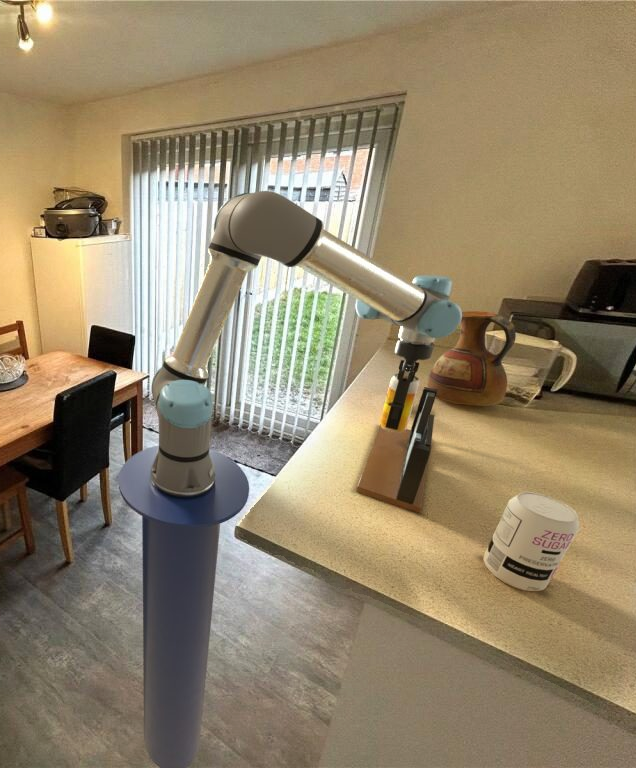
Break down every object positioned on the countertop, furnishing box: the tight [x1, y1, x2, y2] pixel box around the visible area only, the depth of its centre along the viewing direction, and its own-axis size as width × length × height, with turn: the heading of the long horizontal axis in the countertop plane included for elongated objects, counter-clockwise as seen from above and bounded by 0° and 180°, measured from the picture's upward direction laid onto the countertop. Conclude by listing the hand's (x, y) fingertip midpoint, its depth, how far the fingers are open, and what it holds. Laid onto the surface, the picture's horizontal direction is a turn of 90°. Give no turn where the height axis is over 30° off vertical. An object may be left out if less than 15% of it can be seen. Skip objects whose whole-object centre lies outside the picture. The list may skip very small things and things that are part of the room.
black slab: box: [402, 392, 435, 478], centre depth 89 cm, size 1×16×20 cm, turn 142°
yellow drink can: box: [379, 373, 420, 433], centre depth 103 cm, size 6×6×15 cm
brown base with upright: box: [355, 386, 438, 514], centre depth 97 cm, size 12×37×15 cm, turn 142°
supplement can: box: [483, 491, 581, 592], centre depth 66 cm, size 8×8×15 cm
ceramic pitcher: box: [427, 310, 517, 407], centre depth 125 cm, size 20×20×30 cm
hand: (392, 422), depth 105 cm, fingers closed on yellow drink can, 6 cm apart
